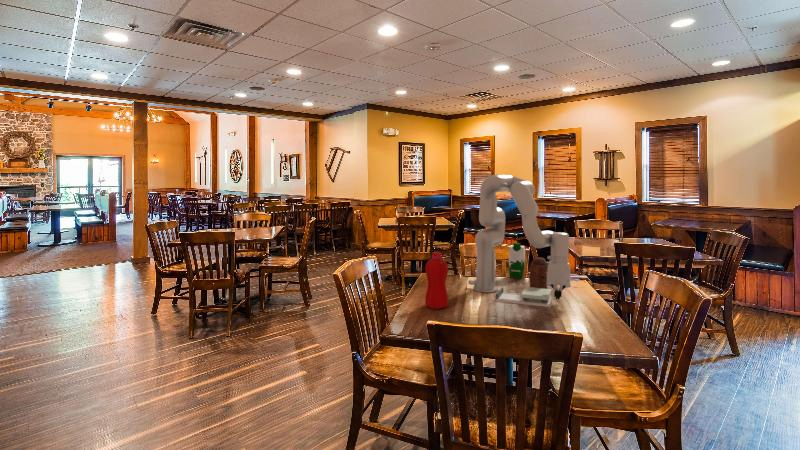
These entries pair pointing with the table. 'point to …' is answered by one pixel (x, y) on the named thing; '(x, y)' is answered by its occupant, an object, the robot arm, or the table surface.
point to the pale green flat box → (536, 294)
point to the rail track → (518, 299)
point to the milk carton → (516, 260)
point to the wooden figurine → (538, 273)
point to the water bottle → (436, 282)
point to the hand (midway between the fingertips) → (557, 298)
